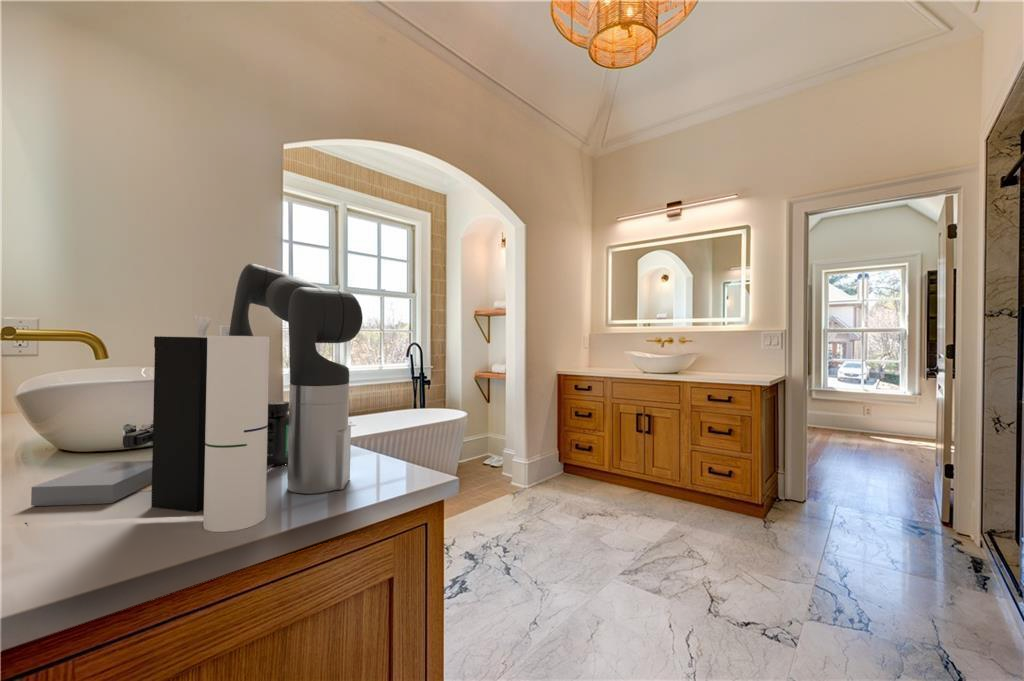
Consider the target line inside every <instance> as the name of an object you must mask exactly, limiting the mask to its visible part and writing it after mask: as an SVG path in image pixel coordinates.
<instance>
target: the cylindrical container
mask: <svg viewBox="0 0 1024 681" xmlns="http://www.w3.org/2000/svg"><path fill="white" fill-rule="evenodd" d="M206 337H207V383H206V429H205V443H206V444H205V477H204V510H203V526H202V527H203V529H205V531H209V532H213V533H215V532H216V533H225V532H228V533H229V532H234V531H240V530H244V529H247V528H250V527H253V526H255V525H258V524H260V523H262V522H263V521H264V520H265V518H266V513H267V510H266V509H267V474H268V473H267V472H268V471H267V470H268V469H267V467H268V465H267V425H268V402H269V379H270V378H269V377H270V376H269V373H270V372H269V371H270V336H263V335H262V336H257V335H256V336H255V335H253V336H229V335H213V334H212V335H210V334H207V336H206Z"/></svg>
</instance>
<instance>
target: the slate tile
mask: <svg viewBox="0 0 1024 681" xmlns="http://www.w3.org/2000/svg"><path fill="white" fill-rule="evenodd" d="M151 483H152V460H130V461H129V460H128V461H124V460H122V461H100V462H97V463H94V464H92V465H89V466H87V467H84V468H81V469H78V470H76V471H72V472H70V473H67V474H64V475H61V476H58V477H55V478H53V479H50V480H48V481H45V482H42V483H39V484H36V485H33V486H31V491H30V492H31V494H30V495H31V497H30V498H31V499H30V500H31V501H30V502H31V503H30V506H32V507H33V506H34V507H35V506H36V507H47V506H70V505H73V506H74V505H96V504H97V505H98V504H99V505H101V504H112V503H115V502H117V501H119V500H122V499H123V498H125V497H127V496H129V495H131V494H133V493H136V492H135V491H137V490H139V489H141V488H143V487H145V486H147V485H149V484H151Z"/></svg>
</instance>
